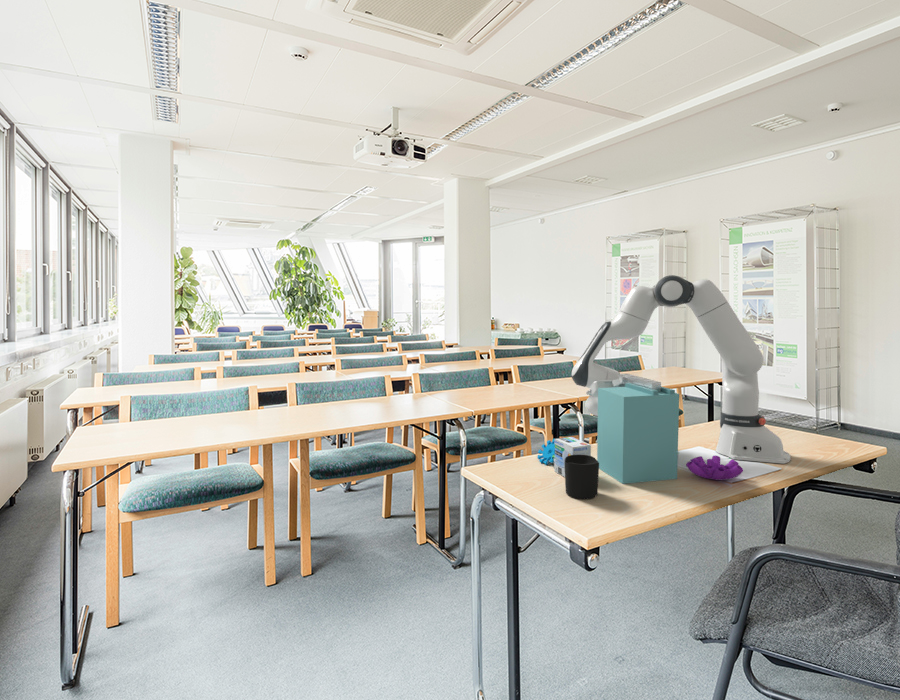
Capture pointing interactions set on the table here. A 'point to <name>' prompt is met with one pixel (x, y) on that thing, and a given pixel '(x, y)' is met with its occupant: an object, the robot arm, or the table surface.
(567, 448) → the light bulb box
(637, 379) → the steel bar
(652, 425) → the ridged teal block
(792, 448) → the table surface
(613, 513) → the table surface
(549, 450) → the gear
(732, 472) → the purple curved piece
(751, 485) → the table surface
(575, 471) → the pen holder
